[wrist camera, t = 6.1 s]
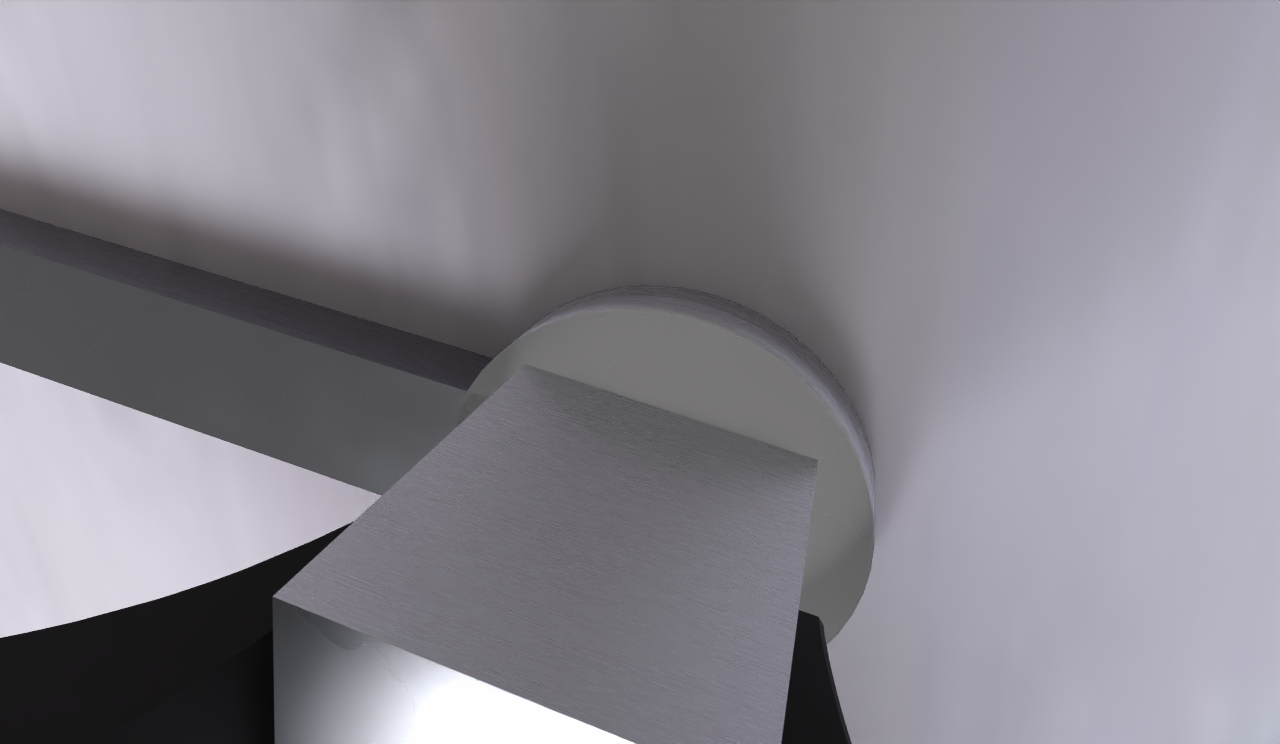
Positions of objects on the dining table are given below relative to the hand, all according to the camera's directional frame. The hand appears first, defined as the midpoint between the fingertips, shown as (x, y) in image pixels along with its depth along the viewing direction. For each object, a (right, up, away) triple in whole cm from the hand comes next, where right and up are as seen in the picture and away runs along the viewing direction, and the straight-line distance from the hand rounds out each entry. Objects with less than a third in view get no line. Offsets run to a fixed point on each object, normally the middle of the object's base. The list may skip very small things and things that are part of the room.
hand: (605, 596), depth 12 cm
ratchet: (-5, +3, +4) cm, 7 cm away
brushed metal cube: (0, +1, +1) cm, 2 cm away
